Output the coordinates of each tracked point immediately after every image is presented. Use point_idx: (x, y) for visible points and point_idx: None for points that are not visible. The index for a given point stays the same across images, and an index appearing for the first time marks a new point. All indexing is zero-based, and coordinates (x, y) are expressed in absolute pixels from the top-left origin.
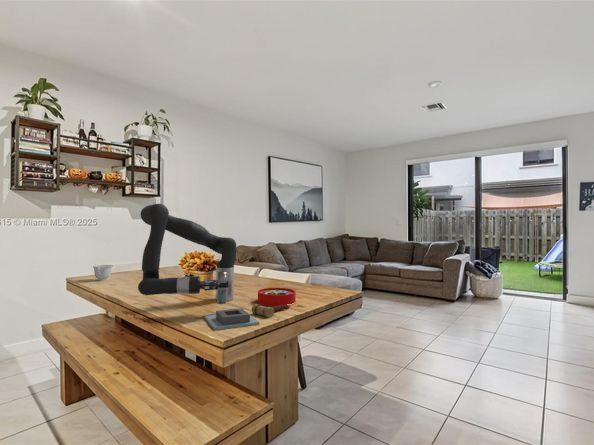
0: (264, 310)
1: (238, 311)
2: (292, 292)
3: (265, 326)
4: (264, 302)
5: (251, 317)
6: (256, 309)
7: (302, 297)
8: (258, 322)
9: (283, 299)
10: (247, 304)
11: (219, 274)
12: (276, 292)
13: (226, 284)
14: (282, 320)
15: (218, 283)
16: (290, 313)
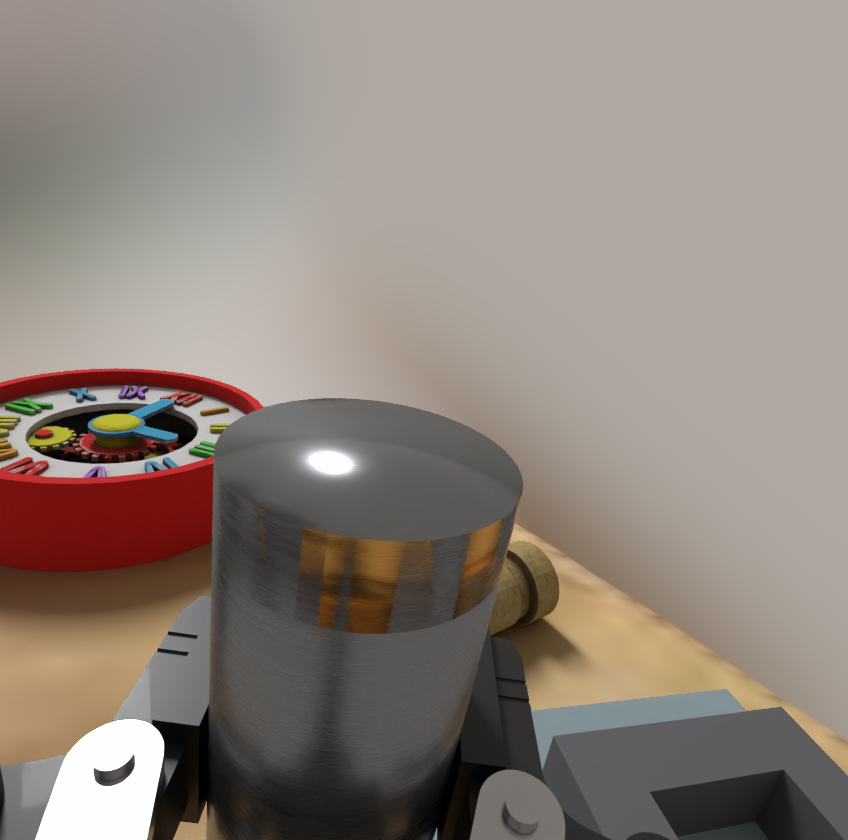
0: (524, 591)
1: (677, 791)
2: (154, 387)
3: (751, 678)
4: (168, 536)
5: (610, 715)
6: None
7: None
8: (729, 697)
9: None
10: (25, 653)
11: (487, 570)
12: (128, 423)
13: (511, 657)
14: (590, 572)
15: (561, 819)
16: None
